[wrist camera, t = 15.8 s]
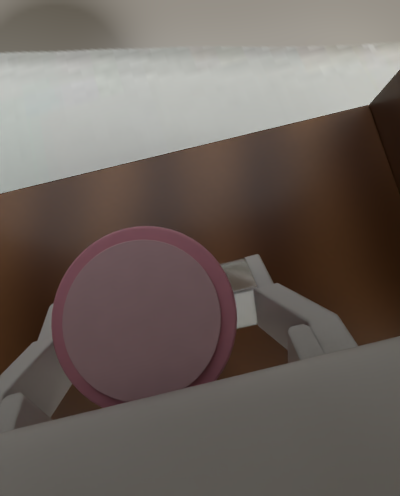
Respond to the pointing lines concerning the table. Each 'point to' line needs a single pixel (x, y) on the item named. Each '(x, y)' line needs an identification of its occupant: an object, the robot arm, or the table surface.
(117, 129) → the table surface
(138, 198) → the shelf
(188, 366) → the pink cylinder
